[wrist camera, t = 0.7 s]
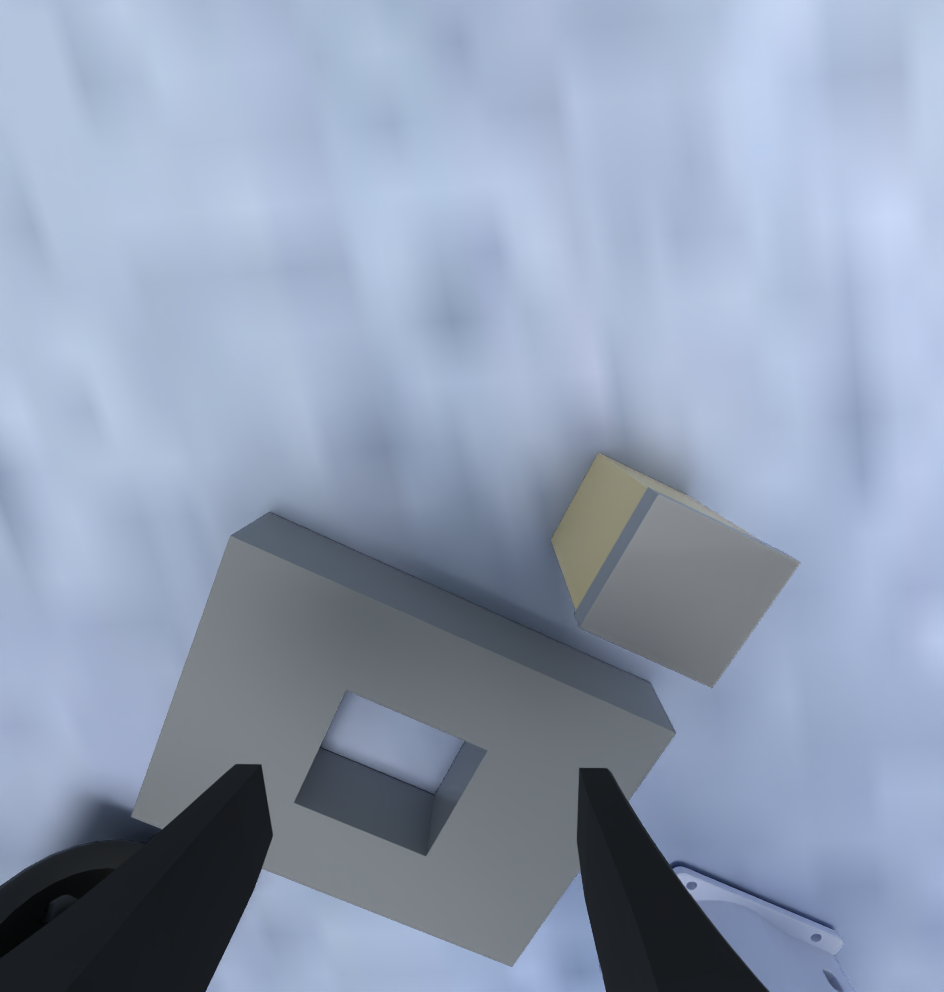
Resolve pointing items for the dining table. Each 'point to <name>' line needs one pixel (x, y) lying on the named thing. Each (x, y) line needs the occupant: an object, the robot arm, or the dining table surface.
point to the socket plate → (414, 693)
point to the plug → (664, 571)
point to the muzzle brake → (55, 886)
